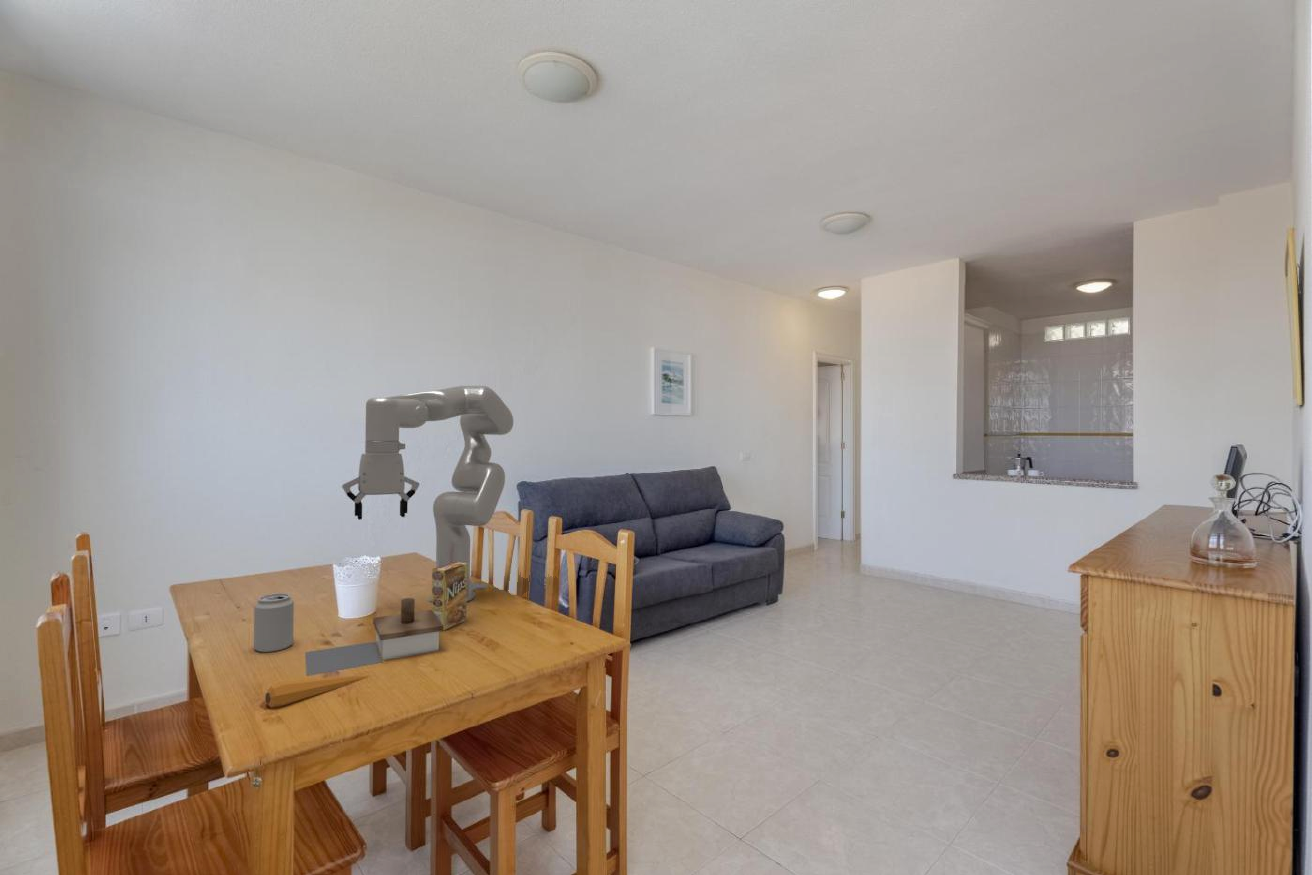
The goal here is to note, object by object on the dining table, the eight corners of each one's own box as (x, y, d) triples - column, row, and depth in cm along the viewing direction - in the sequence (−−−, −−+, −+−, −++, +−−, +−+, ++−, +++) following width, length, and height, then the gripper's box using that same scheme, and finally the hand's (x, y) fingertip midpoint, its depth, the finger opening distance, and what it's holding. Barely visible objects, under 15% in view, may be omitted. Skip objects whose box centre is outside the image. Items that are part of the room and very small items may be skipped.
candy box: (444, 631, 147) (445, 570, 147) (430, 629, 149) (431, 568, 148) (467, 620, 155) (468, 562, 155) (453, 618, 157) (454, 561, 157)
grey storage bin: (428, 636, 144) (428, 615, 143) (438, 652, 134) (439, 630, 134) (376, 644, 137) (376, 623, 137) (382, 662, 128) (383, 639, 127)
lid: (431, 614, 144) (432, 589, 144) (443, 630, 133) (443, 603, 133) (373, 622, 138) (373, 596, 137) (380, 640, 127) (380, 611, 126)
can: (301, 645, 136) (301, 593, 136) (270, 656, 129) (270, 602, 129) (277, 640, 139) (277, 589, 138) (245, 651, 131) (246, 598, 131)
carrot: (267, 717, 105) (273, 696, 104) (260, 699, 107) (266, 679, 107) (379, 691, 120) (385, 672, 119) (370, 676, 123) (376, 658, 122)
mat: (374, 643, 138) (374, 641, 138) (382, 664, 126) (382, 662, 126) (305, 653, 131) (305, 652, 131) (306, 677, 119) (306, 675, 119)
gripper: (416, 447, 153) (415, 513, 153) (341, 447, 144) (340, 517, 144) (422, 448, 147) (421, 517, 147) (343, 449, 138) (343, 522, 138)
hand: (381, 517), depth 146 cm, fingers open, 9 cm apart
